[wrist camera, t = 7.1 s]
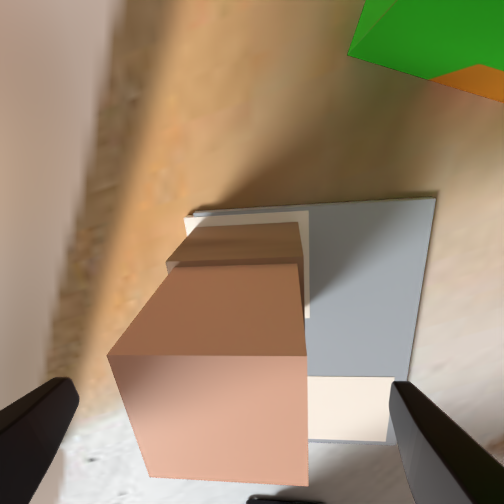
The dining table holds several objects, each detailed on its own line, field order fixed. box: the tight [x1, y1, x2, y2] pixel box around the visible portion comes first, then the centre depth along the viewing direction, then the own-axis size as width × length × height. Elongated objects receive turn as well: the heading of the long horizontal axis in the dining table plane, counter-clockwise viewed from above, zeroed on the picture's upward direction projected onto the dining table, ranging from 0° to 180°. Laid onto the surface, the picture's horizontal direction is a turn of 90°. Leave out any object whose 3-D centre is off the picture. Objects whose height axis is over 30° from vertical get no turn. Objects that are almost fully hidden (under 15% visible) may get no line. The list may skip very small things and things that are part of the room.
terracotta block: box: [107, 263, 309, 486], centre depth 9 cm, size 4×4×4 cm
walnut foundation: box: [166, 222, 305, 331], centre depth 13 cm, size 5×5×4 cm
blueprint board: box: [184, 197, 436, 445], centre depth 17 cm, size 16×12×1 cm
